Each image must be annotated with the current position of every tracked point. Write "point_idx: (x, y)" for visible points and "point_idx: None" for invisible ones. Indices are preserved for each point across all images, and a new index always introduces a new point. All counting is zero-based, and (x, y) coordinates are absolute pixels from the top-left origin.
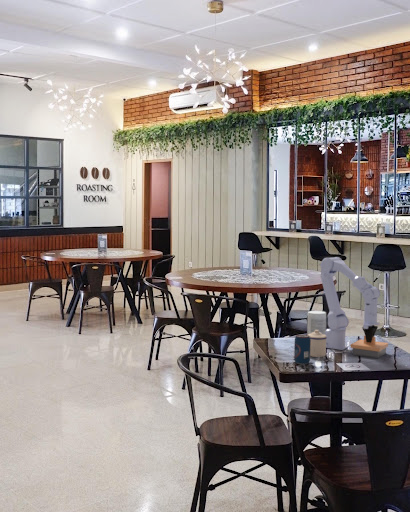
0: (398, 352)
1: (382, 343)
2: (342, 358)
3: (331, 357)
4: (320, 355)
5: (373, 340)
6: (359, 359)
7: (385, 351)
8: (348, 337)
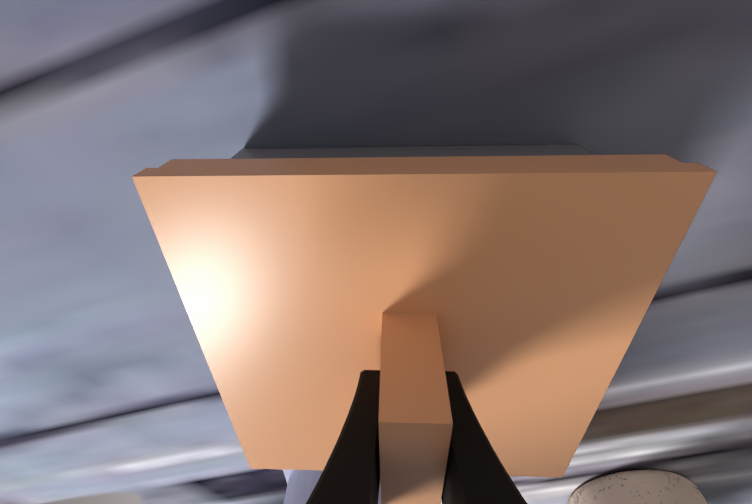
0: (36, 8)
1: (258, 245)
2: (694, 388)
3: (676, 438)
4: (696, 488)
5: (442, 376)
6: (704, 285)
7: (251, 157)
8: (7, 487)
